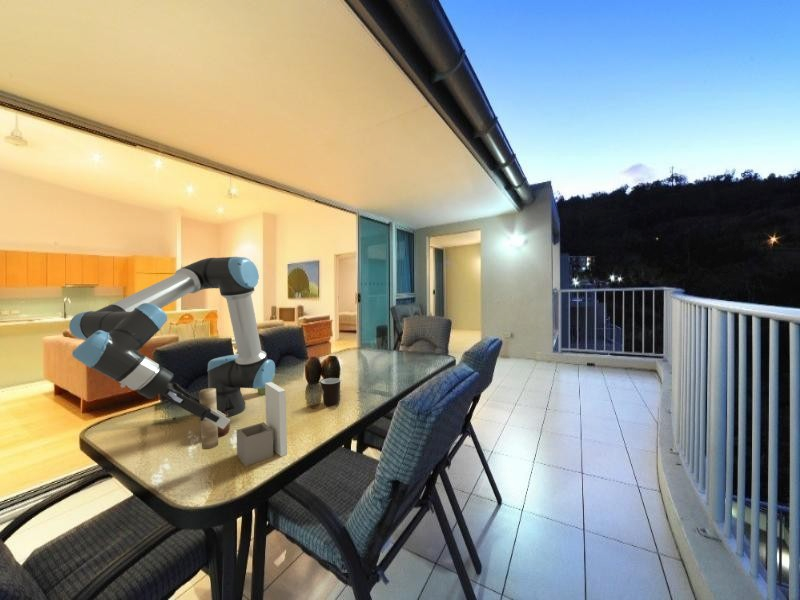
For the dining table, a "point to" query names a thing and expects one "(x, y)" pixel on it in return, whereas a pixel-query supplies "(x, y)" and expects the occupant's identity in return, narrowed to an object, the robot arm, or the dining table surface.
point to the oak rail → (207, 428)
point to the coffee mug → (330, 391)
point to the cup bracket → (265, 430)
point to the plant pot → (263, 389)
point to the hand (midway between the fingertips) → (224, 421)
